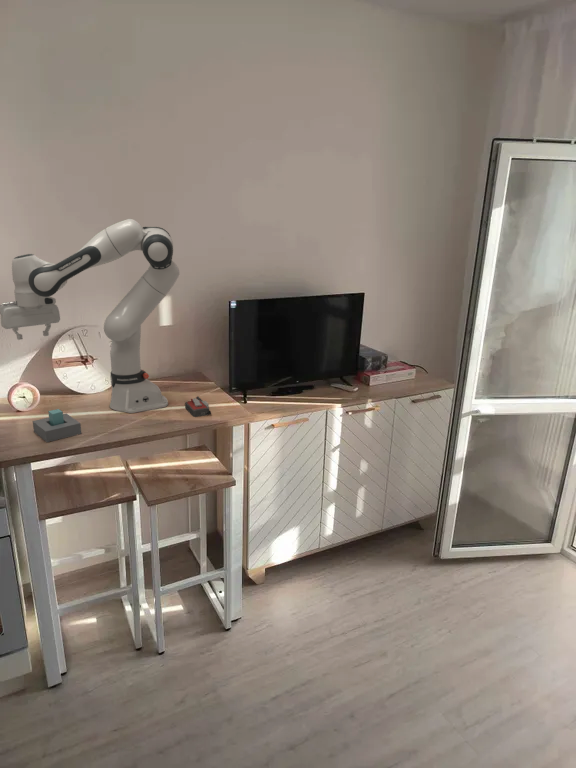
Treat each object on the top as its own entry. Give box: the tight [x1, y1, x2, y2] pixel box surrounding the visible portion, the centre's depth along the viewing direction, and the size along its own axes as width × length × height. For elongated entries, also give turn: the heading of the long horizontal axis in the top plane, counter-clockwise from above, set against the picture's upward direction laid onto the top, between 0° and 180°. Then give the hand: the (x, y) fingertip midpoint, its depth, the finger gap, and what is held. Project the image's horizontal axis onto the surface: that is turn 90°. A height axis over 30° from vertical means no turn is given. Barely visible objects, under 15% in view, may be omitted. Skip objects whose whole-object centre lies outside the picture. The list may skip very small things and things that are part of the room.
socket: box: [32, 413, 82, 443], centre depth 203 cm, size 12×12×4 cm
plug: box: [48, 408, 64, 426], centre depth 202 cm, size 4×4×8 cm
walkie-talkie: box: [184, 395, 212, 418], centre depth 229 cm, size 9×4×20 cm
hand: (33, 337), depth 213 cm, fingers open, 8 cm apart
